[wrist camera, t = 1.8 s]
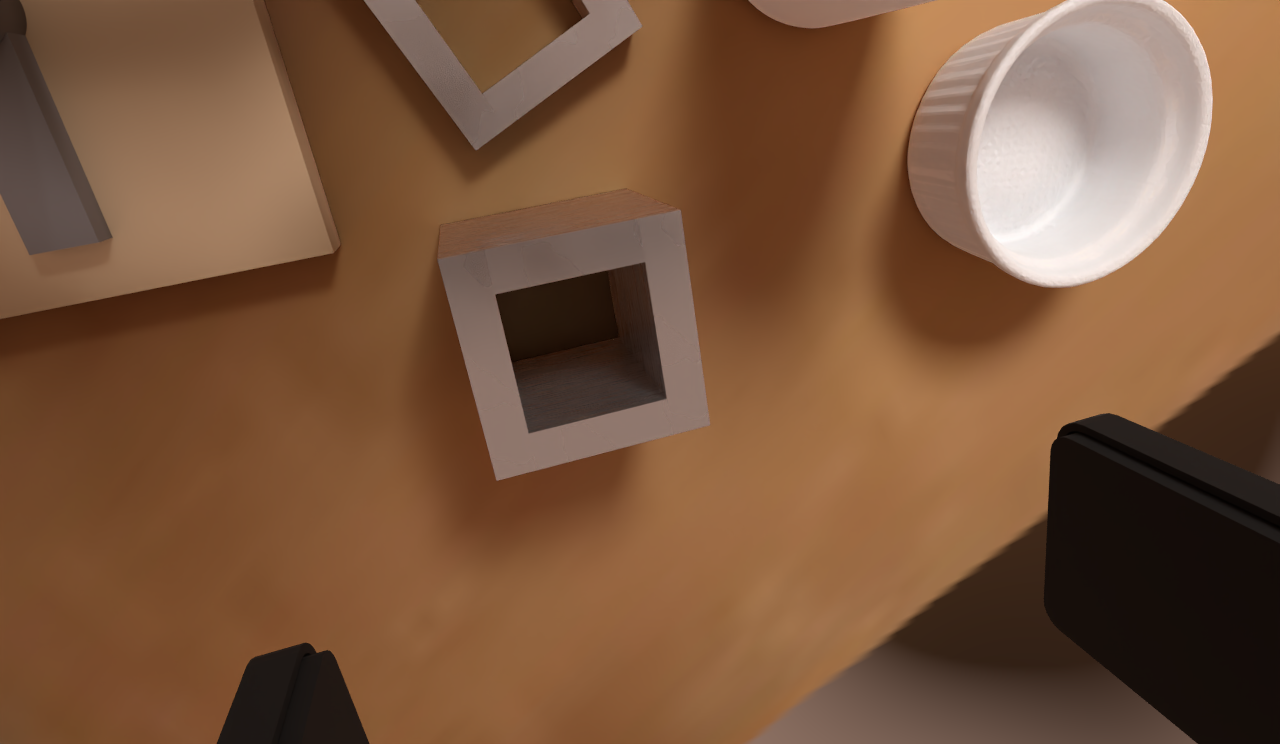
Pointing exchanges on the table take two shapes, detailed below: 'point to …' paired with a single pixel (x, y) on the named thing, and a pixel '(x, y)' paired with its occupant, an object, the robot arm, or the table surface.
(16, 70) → the base
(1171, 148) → the ramekin
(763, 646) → the table surface
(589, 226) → the link
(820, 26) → the can
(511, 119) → the link
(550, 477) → the table surface
